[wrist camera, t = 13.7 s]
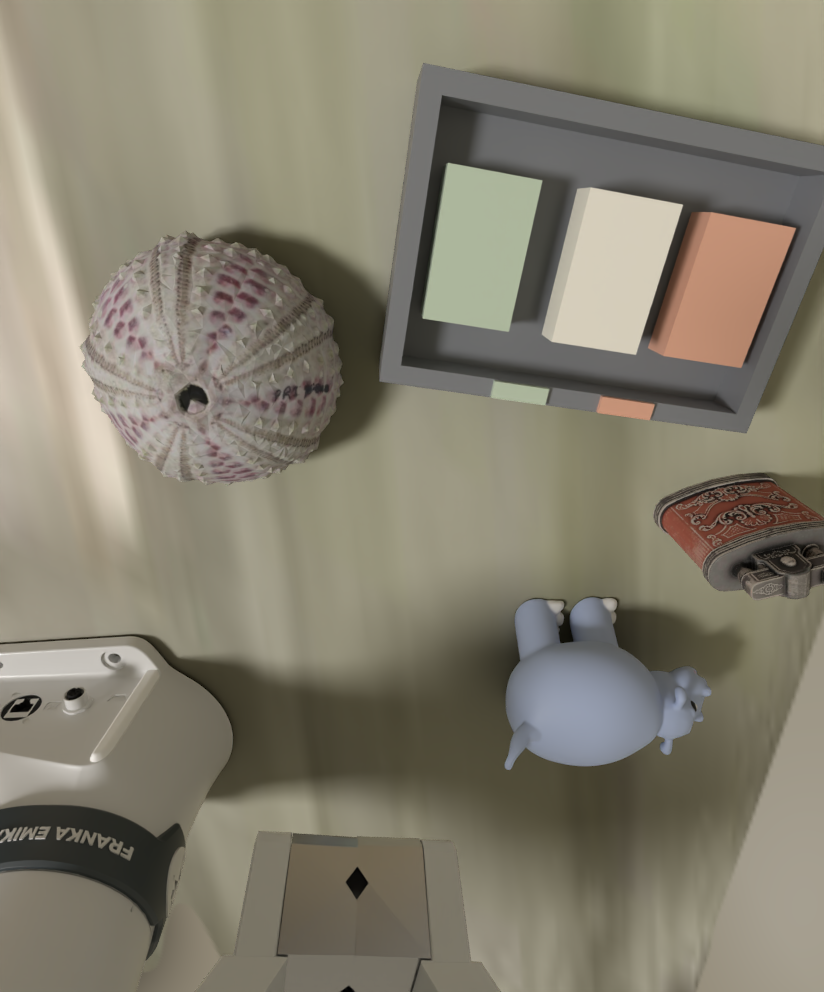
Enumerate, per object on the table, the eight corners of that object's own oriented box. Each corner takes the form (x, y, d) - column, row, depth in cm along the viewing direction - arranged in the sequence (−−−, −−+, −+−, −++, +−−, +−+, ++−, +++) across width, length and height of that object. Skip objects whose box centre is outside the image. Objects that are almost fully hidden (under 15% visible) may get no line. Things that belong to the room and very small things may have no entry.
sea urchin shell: (212, 173, 31) (162, 162, 23) (394, 365, 35) (399, 405, 28) (60, 352, 34) (-25, 391, 27) (245, 505, 39) (215, 573, 32)
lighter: (655, 537, 41) (733, 628, 32) (651, 494, 40) (731, 577, 31) (771, 507, 41) (884, 591, 32) (772, 463, 39) (889, 538, 30)
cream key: (541, 334, 32) (551, 341, 30) (577, 188, 29) (590, 187, 27) (621, 346, 32) (635, 354, 31) (664, 205, 30) (683, 204, 28)
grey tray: (378, 363, 35) (379, 382, 31) (417, 80, 29) (423, 61, 25) (710, 411, 38) (749, 435, 34) (807, 160, 32) (867, 153, 28)
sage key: (420, 312, 32) (422, 318, 30) (443, 165, 29) (448, 162, 27) (501, 325, 33) (508, 331, 31) (532, 182, 30) (542, 180, 28)
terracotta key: (647, 348, 34) (663, 355, 32) (691, 212, 31) (711, 212, 29) (721, 359, 34) (741, 368, 32) (771, 226, 31) (796, 228, 29)
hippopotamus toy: (660, 704, 48) (721, 811, 40) (476, 709, 48) (498, 820, 39) (689, 593, 44) (766, 687, 35) (486, 597, 43) (514, 694, 34)
